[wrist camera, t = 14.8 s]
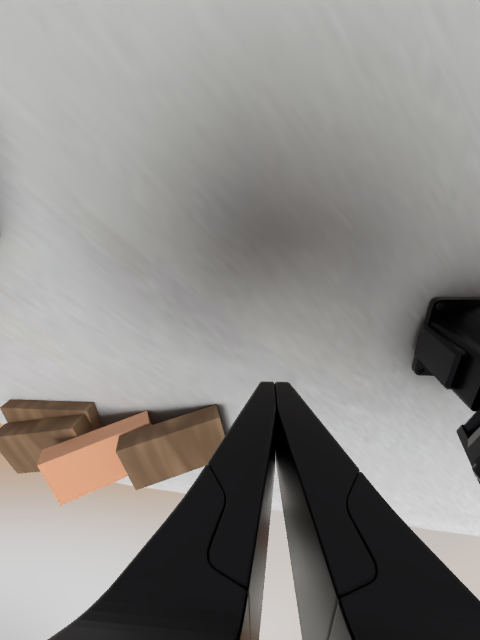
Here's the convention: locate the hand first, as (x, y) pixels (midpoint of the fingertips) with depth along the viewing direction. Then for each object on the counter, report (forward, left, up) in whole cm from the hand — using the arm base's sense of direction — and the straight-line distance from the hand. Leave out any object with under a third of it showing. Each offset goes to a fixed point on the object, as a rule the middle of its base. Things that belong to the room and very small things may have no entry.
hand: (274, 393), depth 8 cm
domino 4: (+4, +15, -12) cm, 20 cm away
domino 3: (+11, +16, -12) cm, 23 cm away
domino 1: (+17, +15, -13) cm, 26 cm away
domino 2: (+17, +15, -11) cm, 25 cm away
